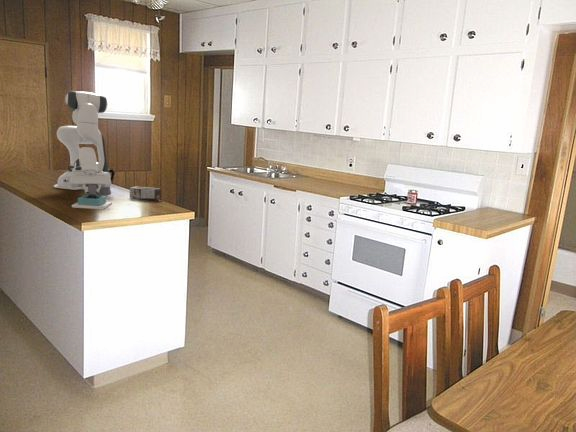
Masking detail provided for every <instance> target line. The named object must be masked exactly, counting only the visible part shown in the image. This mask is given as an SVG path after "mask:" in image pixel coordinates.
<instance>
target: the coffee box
mask: <svg viewBox="0 0 576 432" xmlns="http://www.w3.org/2000/svg"><path fill="white" fill-rule="evenodd" d="M129 198H131V199H137V200H138V199H139V200H144V201H154V202H155V201H159V200H161V199H162V188H157V187H148V186H140V185H136V186H132V187H130V188H129Z"/></svg>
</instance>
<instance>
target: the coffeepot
mask: <svg viewBox="0 0 576 432" xmlns="http://www.w3.org/2000/svg"><path fill="white" fill-rule="evenodd" d="M109 173H110V176H111V177H110V179H111V184H112V183H113V180H114V177H115V173H116V172H115V171H114V169H112V168H109ZM96 189H98V187H96ZM111 193H112V191H111V186H110V187H101V188H100V190H99V193H96V195H99V196H106V195H107V196H108V195H111Z"/></svg>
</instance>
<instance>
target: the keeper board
mask: <svg viewBox="0 0 576 432" xmlns="http://www.w3.org/2000/svg"><path fill="white" fill-rule="evenodd" d="M111 205H113V203H112V201H107V196H106V195H98V194H96V199H93V198H88V194H84V195H82V196H80V197H77V202H75V203H74V204H71V208H74V209H75V208H76V209H77V208H78V209H92V210H105V209H106V208H108V207H110V206H111ZM104 208H105V209H104Z"/></svg>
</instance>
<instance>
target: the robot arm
mask: <svg viewBox="0 0 576 432" xmlns="http://www.w3.org/2000/svg"><path fill="white" fill-rule="evenodd" d="M66 93H67V94H66V95H65V99H64V100H65V104H66V106H67V108H68V109H70V110H72V117H71V119H72V122H73V123H74V124H75V125H63V126H62V125H61V126H59V127H58V129H57V130H56V137H57V140H59V142H60V143H62V144H63V145H64V146H65V147H66V149H67V150H68V153H69V158H70V159H69V160H70V161H69V163H70V164H69V165H68V166H66V169H67V171H66V172H64V173H62V174H61V175H60V176H59V177H58V179H57V184H54V185H53V188H54V189H64V190H74V191H75V190H84V193H85V194H88V192H89V191H88V184H96V187H98V189H96V193H99V190H100V188H101V187H110V188H111V186H112V183H111V173H109V169H110V168H109V165H108V159H107V158H108V157H107V149H106V143H105V137H104V135H103V134H102V133H101V131H100V129H99V114H102V113H103V114H104V113H105V112H106V111H107V108H108V100H107V98H106V96H105V95H103V94H97V93H94V92H89V91H80V90H79V91H78V90H69V91H68V92H66ZM82 144H83V145H94V146H95V147H96V148H97V155H96V151H95V148H93V147H91V146H83V147H80V145H82ZM97 156H98V157H97ZM97 158H98V160H97Z"/></svg>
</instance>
